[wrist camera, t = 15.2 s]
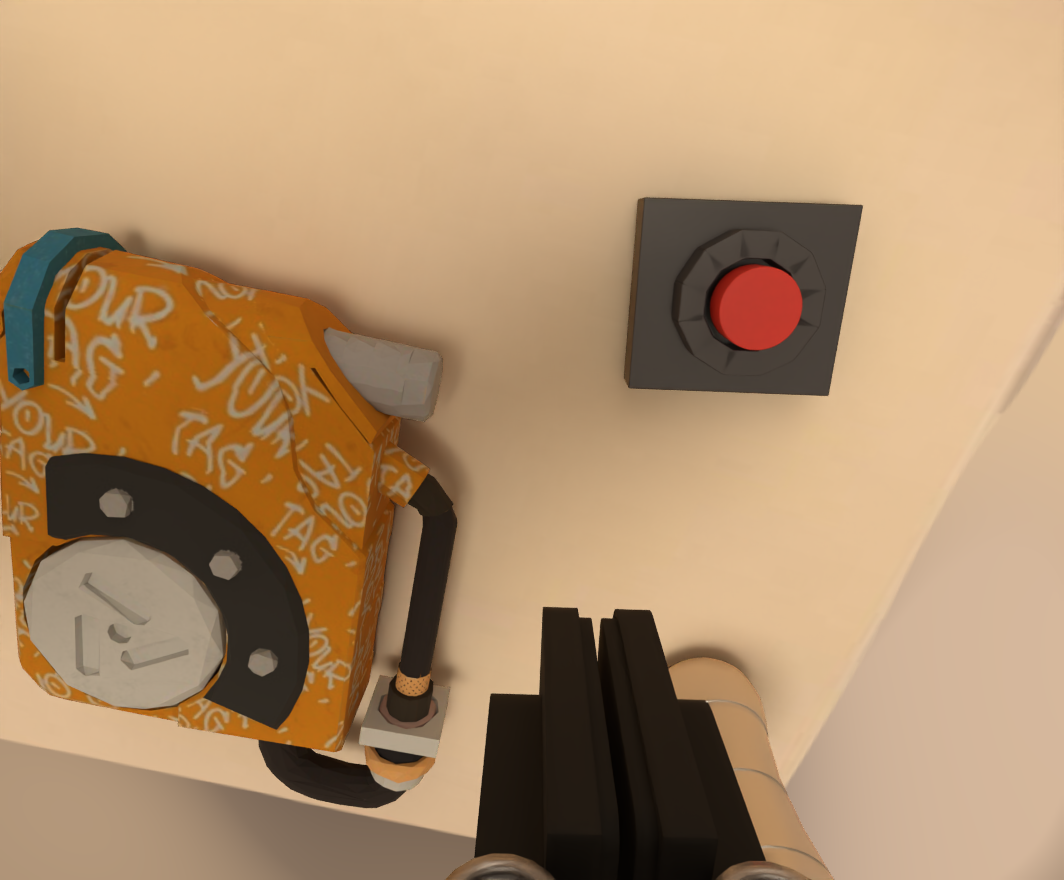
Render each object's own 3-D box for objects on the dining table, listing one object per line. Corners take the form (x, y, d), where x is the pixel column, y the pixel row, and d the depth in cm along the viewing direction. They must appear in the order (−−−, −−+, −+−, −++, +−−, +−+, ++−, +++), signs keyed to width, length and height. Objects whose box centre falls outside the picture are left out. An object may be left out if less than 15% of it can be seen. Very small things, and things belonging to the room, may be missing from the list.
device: (518, 336, 26) (412, 877, 35) (525, 310, 34) (436, 759, 43) (-59, 217, 25) (-12, 806, 34) (85, 219, 33) (92, 698, 42)
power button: (705, 342, 31) (714, 349, 29) (714, 262, 29) (724, 265, 28) (782, 345, 31) (795, 352, 29) (794, 265, 29) (809, 268, 28)
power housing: (623, 378, 35) (632, 397, 31) (637, 199, 32) (650, 196, 28) (812, 385, 35) (844, 405, 31) (843, 206, 32) (882, 204, 28)
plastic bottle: (763, 708, 41) (945, 1119, 22) (662, 741, 42) (755, 1162, 23) (730, 627, 40) (898, 1002, 21) (625, 664, 41) (694, 1053, 22)
